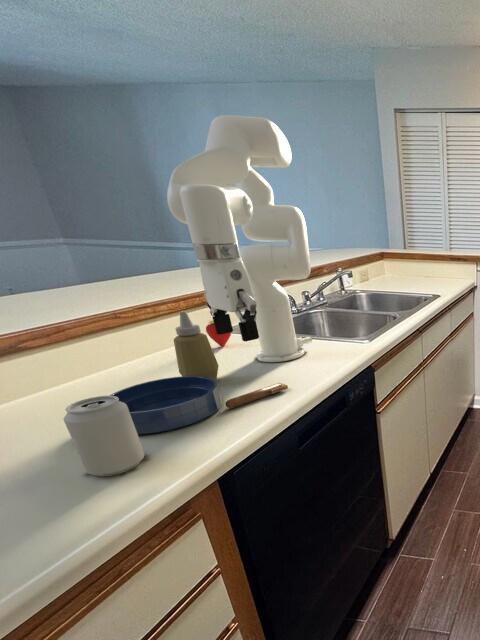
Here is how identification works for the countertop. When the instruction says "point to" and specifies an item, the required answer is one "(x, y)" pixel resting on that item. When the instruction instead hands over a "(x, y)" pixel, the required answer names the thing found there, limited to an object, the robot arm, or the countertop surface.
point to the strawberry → (217, 338)
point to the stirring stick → (255, 395)
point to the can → (104, 435)
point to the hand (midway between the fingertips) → (237, 336)
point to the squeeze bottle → (194, 350)
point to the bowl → (170, 402)
